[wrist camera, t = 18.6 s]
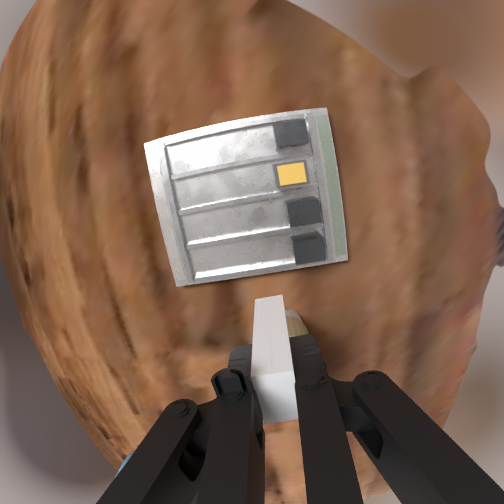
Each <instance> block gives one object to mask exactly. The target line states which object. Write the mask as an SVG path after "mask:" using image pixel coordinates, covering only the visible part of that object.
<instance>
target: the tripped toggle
mask: <svg viewBox="0 0 504 504" xmlns="http://www.w3.org/2000/svg"><path fill="white" fill-rule="evenodd" d="M272 166H273V172H274V178H275V183H276V187H277V189H279V188H285V187H292V186H298V185H305V184H310V180H309V174H308V168H307V162H306V159H305V160H298V161H291V162H284V163H278V164H273V165H272Z"/></svg>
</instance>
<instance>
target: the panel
mask: <svg viewBox="0 0 504 504" xmlns="http://www.w3.org/2000/svg"><path fill="white" fill-rule="evenodd" d="M144 146H145V152H146V158H147V163H148V168H149V174H150V179H151V184H152V189H153V194H154V198H155V203H156V208H157V212H158V216H159V221H160V225H161V229H162V233H163V237H164V242H165V246H166V249H167V253H168V257H169V261H170V265H171V268H172V272H173V276H174V279H175V283H176V286H177V287H178V286H185V285H192V284H200V283H207V282H214V281H221V280H228V279H234V278H241V277H248V276H254V275H261V274H267V273H274V272H280V271H286V270H292V269H299V268H305V267H311V266H317V265H323V264H329V263H335V262H340V261H346V260H348V253H347V242H346V231H345V221H344V212H343V204H342V196H341V188H340V181H339V174H338V168H337V161H336V155H335V149H334V144H333V138H332V133H331V128H330V122H329V118H328V113H327V108H317V109H307V110H298V111H290V112H283V113H276V114H269V115H263V116H257V117H251V118H245V119H240V120H235V121H230V122H225V123H220V124H216V125H211V126H207V127H203V128H198V129H194V130H190V131H186V132H183V133H179V134H175V135H172V136H168V137H164V138H161V139H158V140H154V141H151V142H148V143H145V144H144ZM305 159H306V162H307V168H308V174H309V180H310V184H305V185H298V186H292V187H285V188H279V189H277V187H276V183H275V178H274V172H273V166H272V165H273V164H278V163H284V162H291V161H298V160H305Z"/></svg>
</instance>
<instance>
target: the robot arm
mask: <svg viewBox="0 0 504 504" xmlns="http://www.w3.org/2000/svg"><path fill="white" fill-rule="evenodd" d="M211 382H212V385H213V387H214V390H215V392H216V395H217V398H216V399H214V400H212V401H210V402H207V403H204V404H200V405H197V404H196V403H195V402H194V401H192V400H189V399H180V400H176V401H174V402H172V403H170V404H169V405H168V406H167V407H166V408H165V410H164V411H163V413H162V414H161V415H160V417H159V418H158V420H157V421H156V422H155V424H154V425H153V427H152V428H151V429H150V431H149V432H148V434H147V435H146V436H145V438H144V439H143V441H142V442H141V443H140V445H139V446H138V447H137V449H136V450H134V451H132V452H131V453H130V454H129V455H128V456H127V458H126V459H125V461H124V462H123V464H122V465H121V467H120V469H119V472H118V473H117V475H116V477H115V479H114V480H113V482H112V483H111V484H110V486H109V487H108V488H107V490H106V491H105V492H104V494H103V495H102V496H101V498H100V499H99V500H98V502H97V503H96V504H264V497H265V433H264V429H263V421H264V424H266V423H274V422H282V421H289V420H295V419H298V420H299V428H300V437H301V446H302V455H303V464H304V474H305V484H306V494H307V504H363V499H362V495H361V490H360V486H359V482H358V478H357V474H356V470H355V466H354V462H353V458H352V454H351V450H350V446H349V443H348V439H347V435H346V431H349V432H352V433H353V434H354V436H355V437H356V439H357V440H358V442H359V443H360V445H361V446H362V448H363V449H364V450H365V452H366V453H367V455H368V456H369V458H370V459H371V461H372V462H373V463H374V465H375V466H376V468H377V469H378V471H379V472H380V473H381V475H382V476H383V478H384V479H385V481H386V482H387V483H388V485H389V486H390V488H391V489H392V490H393V492H394V493H395V495H396V496H397V498H398V499H399V500H400V502H401V503H402V504H504V491H503V490H502V489H501V488H500V487H499V485H497V484H496V483H495V481H493V480H492V478H490V476H488V475H487V474H486V473H485V472H484V471H483V470H482V469H481V468H480V467H479V466H478V465H477V464H476V463H475V462H474V461H473V460H472V459H471V458H470V457H469V456H468V455H467V454H466V453H465V452H464V451H463V450H462V449H461V448H460V447H459V446H458V445H457V444H456V443H455V442H454V441H453V440H452V439H451V438H450V437H449V436H448V435H447V434H446V433H445V432H444V431H443V430H442V429H441V428H440V427H439V426H438V425H437V424H436V423H435V422H434V421H433V420H432V419H431V418H430V417H429V416H428V415H427V414H426V413H425V412H424V411H423V410H422V409H421V408H420V407H419V406H418V405H417V404H416V403H415V402H414V401H413V400H412V399H411V398H409V397H408V396H407V395H406V394H405V393H404V392H403V391H402V390H401V389H400V388H399V387H398V386H397V385H396V384H395V383H394V382H393V381H392V380H391V379H390V378H389V377H388V376H387V375H386V374H384V373H382V372H380V371H366V372H363V373H361V374H359V375H358V376H356V378H355V379H354V380H353V381H352V382H344V381H337V380H334V379H332V378H331V377H330V376H329V375H328V374H327V372H326V369H325V366H324V362H323V359H322V355H321V352H320V349H319V346H318V342H317V339H316V338H315V337H314V336H313V335H311V334H305V335H299V336H294V337H289V331H288V325H287V319H286V314H285V308H284V302H283V297H282V295H277V296H272V297H266V298H260V299H255V312H254V329H253V344H250V345H243V346H236V347H235V348H234V349H233V350H232V352H231V353H230V357H229V363H228V368H225V369H222V370H220V371H218V372H217V373H215V374H214V375H213V377H212V379H211Z"/></svg>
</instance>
